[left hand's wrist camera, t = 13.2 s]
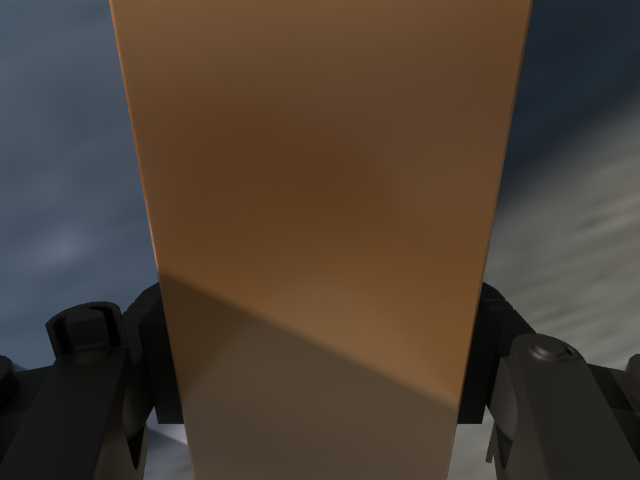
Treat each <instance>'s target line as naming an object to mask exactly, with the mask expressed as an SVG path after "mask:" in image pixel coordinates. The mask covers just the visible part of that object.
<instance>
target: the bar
mask: <svg viewBox="0 0 640 480" xmlns="http://www.w3.org/2000/svg"><path fill="white" fill-rule="evenodd" d="M109 3H110V9H111V14H112V20H113V26H114V31H115V37H116V43H117V48H118V54H119V60H120V65H121V71H122V76H123V82H124V88H125V93H126V99H127V105H128V110H129V116H130V122H131V127H132V133H133V138H134V144H135V150H136V155H137V161H138V167H139V172H140V178H141V184H142V189H143V195H144V200H145V206H146V212H147V217H148V223H149V229H150V234H151V240H152V245H153V251H154V257H155V262H156V268H157V274H158V279H159V285H160V291H161V296H162V302H163V307H164V313H165V319H166V324H167V330H168V336H169V341H170V347H171V353H172V358H173V364H174V369H175V375H176V381H177V386H178V392H179V398H180V403H181V409H182V415H183V420H184V426H185V431H186V437H187V443H188V448H189V454H190V460H191V465H192V471H193V477H194V480H447V476H448V470H449V465H450V459H451V454H452V448H453V442H454V437H455V431H456V426H457V420H458V415H459V409H460V404H461V398H462V393H463V387H464V382H465V376H466V370H467V365H468V359H469V354H470V348H471V343H472V337H473V332H474V326H475V321H476V315H477V310H478V304H479V299H480V293H481V287H482V282H483V276H484V271H485V265H486V260H487V254H488V249H489V243H490V238H491V232H492V227H493V221H494V216H495V210H496V204H497V199H498V193H499V188H500V182H501V177H502V171H503V166H504V160H505V155H506V149H507V144H508V138H509V132H510V127H511V121H512V116H513V110H514V105H515V99H516V94H517V88H518V83H519V77H520V72H521V66H522V61H523V55H524V49H525V44H526V38H527V33H528V27H529V22H530V16H531V11H532V5H533V0H109Z"/></svg>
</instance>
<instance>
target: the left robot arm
mask: <svg viewBox="0 0 640 480" xmlns="http://www.w3.org/2000/svg"><path fill="white" fill-rule="evenodd" d="M45 326H46V329H47V332H48V335H49V338H50V341H51V344H52V347H53V351H54V354H55V357H56V360H55V362H54V364H53V365H51V366H47V367H42V368H37V369H32V370H27V371H22V372H17V373H16V372H15V370H14V367H13V364H12V362H11V360H10V359H9V358H7V357H6V356H0V480H143V476H144V469H145V461H146V454H147V447H148V439H149V436H148V429H147V425H146V420H147V418H148V417H149V415H150V413H151V411H152V409H153V407H154V406H155V410H156V415H157V420H158V424H184V420H183V415H182V409H181V403H180V398H179V392H178V386H177V381H176V375H175V369H174V364H173V358H172V353H171V347H170V341H169V336H168V330H167V324H166V319H165V313H164V307H163V302H162V296H161V291H160V285H159V282H158V283H156V284H154V285H153V286H151V287H149V288H147V289H146V290H144V291H143V292H142V293H141V294H140V295H139V296H138V298H137V299H136V300H135V303H132V304H131V305H130V306H129V307H128V309H127V311H125V312H124V313H123V314H122V315H121V311H120V307H119V306H117V305H116V304H114V303H110V302H105V301H104V302H90V303H86V304H81V305H77V306H74V307H72V308H69V309H66V310H64V311H62V312H60V313H59V314H57V315H55V316H53V317H52V318H51V319H50V320H49V321H48V322H47V323H46V324H45ZM486 405H487V407H488V409H489V411H490V413H491V414H492V416H493V418H494V425H493V429H492V433H491V438H490V442H489V447H488V451H487V456H486V462H488V463H491V461H492V457H493V455H494V460H495V468H496V475H497V480H640V354H635V355H634V356H632V357H631V358H630V359H629V362H628V364H627V367H626V370H625V371H622V370H617V369H612V368H607V367H602V366H597V365H592V364H588V363H586V361H585V359H584V358H583V357H582V355H581V354H580V353H579V352H578V351H577V350H576V349H575V348H573V347H572V346H570V345H569V344H567V343H565V342H563V341H561V340H559V339H556V338H554V337H551V336H547V335H543V334H537V333H536V332H535V331H534V330H533V329H532V328H531V327H530V325H529V324H528V323H527V322H526V321H525V320H524V319H523V318H522V317H521V316H520V314H519V313H518V312H517V311H516V310H513V307H512V306H511V305H510V304H509V302H508V301H506V300H505V298H504V297H503V296H502V295H501V294H500V293H499V292H498V290H497V289H495V288H493V287H492V286H490V285H488V284H486V283H485V282H482V287H481V293H480V299H479V304H478V310H477V315H476V321H475V326H474V332H473V337H472V343H471V348H470V354H469V359H468V365H467V370H466V376H465V382H464V387H463V393H462V398H461V404H460V409H459V415H458V420H457V424H482V420H483V415H484V410H485V406H486Z"/></svg>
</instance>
